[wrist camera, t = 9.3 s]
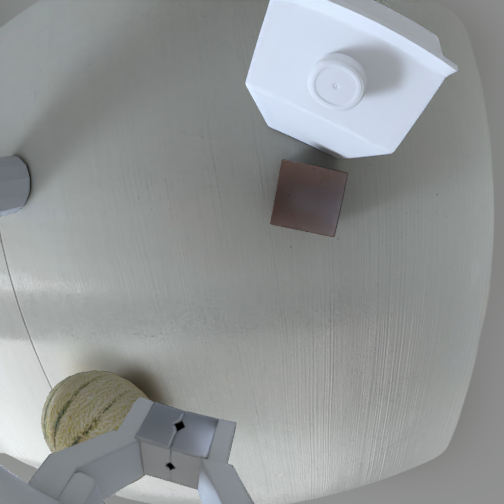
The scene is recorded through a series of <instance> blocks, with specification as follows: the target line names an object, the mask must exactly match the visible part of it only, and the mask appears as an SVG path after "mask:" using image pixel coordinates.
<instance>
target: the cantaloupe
mask: <svg viewBox="0 0 504 504" xmlns="http://www.w3.org/2000/svg"><path fill="white" fill-rule="evenodd" d="M139 397H142V398H145V399H148V400H150V399H149V398H148V397H147V396H146V394H145V393H144V392H143V391H141V390H140V389H139V388H137V387H136V386H135V385H134V384H133V383H132V382H130V381H128V380H126V379H124V378H122V377H120V376H118V375H116V374H114V373H110V372H106V371H96V370H95V371H88V372H81V373H77V374H75V375H72V376H69V377H67V378H66V379H64V380H63V381H61V382H60V383H58V384H57V385H56V386H55V387H54V388H53V390H52V391H51V392H50V393H49V395H48V396H47V399H46V402H45V404H44V407H43V410H42V417H41V425H42V432H43V435H44V439H45V441H46V443H47V445H48V447H49V449H50V451H51V453H55V452H57V451H60V450H63V449H66V448H68V447H71V446H74V445H76V444H79V443H82V442H84V441H87V440H89V439H92V438H94V437H97V436H99V435H102V434H104V433H106V432H109V431H111V430H114V431H117V430H118V429H119V427H120V426H121V424H122V422H123V421H124V419H125V417H126V416H127V414H128V413H129V411H130V409H131V408H132V406H133V405H134V403H135V401H136V400H137V399H138V398H139ZM144 475H145V474H143V476H144ZM143 476H141V477H140V478H142V477H143ZM140 478H138V479H137V480H139V479H140ZM137 480H135V481H137ZM135 481H133V482H135ZM133 482H132V483H133ZM130 484H131V483H130Z"/></svg>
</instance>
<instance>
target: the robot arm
mask: <svg viewBox="0 0 504 504" xmlns="http://www.w3.org/2000/svg"><path fill="white" fill-rule="evenodd" d="M235 429H236V422H232V421H227V420H222V419H218V418H214V417H209V416H205V415H201V414H196V413H192V412H188V411H183V410H180V409H177V408H173V407H170V406H167V405H164V404H161V403H158V402H154V401H151V400H148V399H145V398H142V397H139V398H138V399H137V400H136V401H135V403H134V405H133V406H132V408H131V409H130V411H129V413H128V414H127V416H126V417H125V419H124V421H123V422H122V424H121V426H120V427H119V429H118V430H117V431H114V430H111V431H109V432H106V433H104V434H102V435H99V436H97V437H94V438H92V439H89V440H87V441H84V442H82V443H79V444H76V445H74V446H71V447H68V448H66V449H63V450H60V451H57V452H55V453H52V454H49V455H48V457H47V458H46V460H45V461H44V462H43V464H42V465H41V466H40V468H39V469H38V471H37V472H36V473H35V474H34V476H33V477H32V478H31V480H30V481H29V483H26V482H25V481H23V480H22V479H20V478H19V477H17V476H16V475H14V474H13V473H12V472H10V471H9V470H7V469H5V468H4V467H3V466H1V465H0V504H104V501H103V499H105V498H107V497H109V496H110V495H112V494H114V493H115V492H117V491H119V490H120V489H122V488H124V487H125V486H127V485H129V484H130V483H132V482H133V481H135V480H137V479H138V478H140V477H141V476H143V474H146V475H150V476H153V477H156V478H160V479H163V480H167V481H170V482H174V483H177V484H180V485H183V486H187V487H190V488H194V489H198V493H199V495H200V498H201V500H202V503H203V504H254V502H253V501H252V499H251V497H250V495H249V494H248V492H247V490H246V488H245V487H244V485H243V483H242V481H241V480H240V478H239V476H238V474H237V472H236V470H235V469H234V467H233V465H230V464H228V460H229V455H230V451H231V447H232V442H233V438H234V433H235Z"/></svg>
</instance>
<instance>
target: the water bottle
mask: <svg viewBox="0 0 504 504" xmlns="http://www.w3.org/2000/svg"><path fill="white" fill-rule="evenodd" d="M29 191H30V177H29V173H28V169H27V166H26V165H25V163H24V162H23V161H22V160H21V159H20V158H19V157H18V156H10V157H0V216H4V215H7V214H11V213H15V212H17V211H18V210H19V209H21V208H22V207H23V206H24V205H25V202H26V200H27V197H28V195H29Z"/></svg>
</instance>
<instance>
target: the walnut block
mask: <svg viewBox="0 0 504 504" xmlns="http://www.w3.org/2000/svg"><path fill="white" fill-rule="evenodd" d="M347 176H348V173H346V172H342V171H337V170H333V169H328V168H324V167H319V166H315V165H310V164H305V163H300V162H295V161H290V160H285V159H282V163H281V168H280V174H279V179H278V184H277V190H276V195H275V200H274V206H273V211H272V216H271V222H270V224H271V225H276V226H281V227H286V228H291V229H296V230H301V231H306V232H311V233H316V234H320V235H325V236H330V237H334V236H335V232H336V228H337V223H338V219H339V214H340V210H341V205H342V200H343V196H344V191H345V186H346V181H347Z"/></svg>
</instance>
